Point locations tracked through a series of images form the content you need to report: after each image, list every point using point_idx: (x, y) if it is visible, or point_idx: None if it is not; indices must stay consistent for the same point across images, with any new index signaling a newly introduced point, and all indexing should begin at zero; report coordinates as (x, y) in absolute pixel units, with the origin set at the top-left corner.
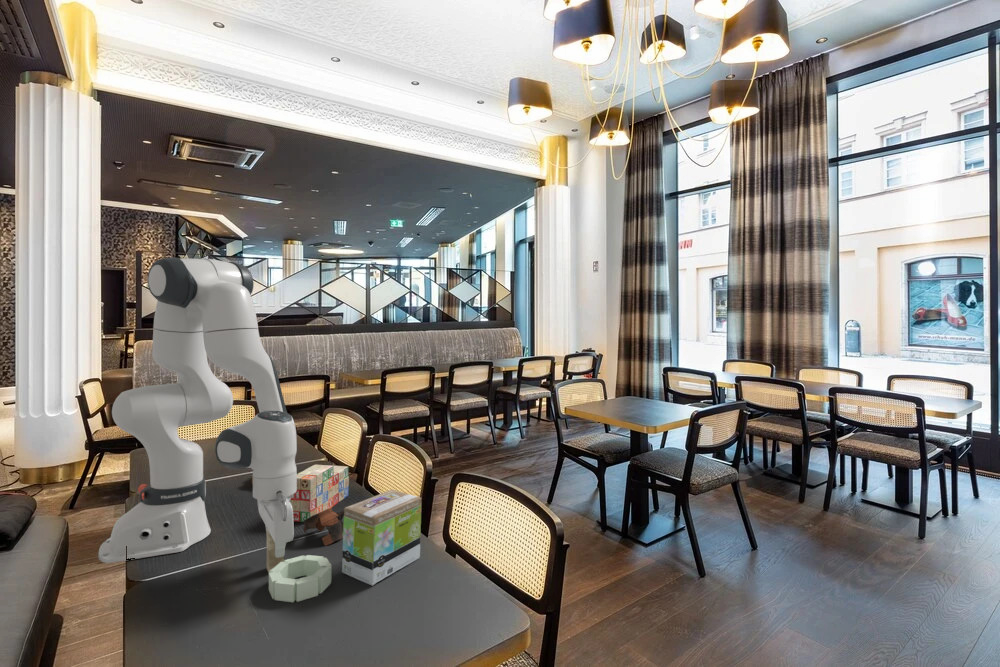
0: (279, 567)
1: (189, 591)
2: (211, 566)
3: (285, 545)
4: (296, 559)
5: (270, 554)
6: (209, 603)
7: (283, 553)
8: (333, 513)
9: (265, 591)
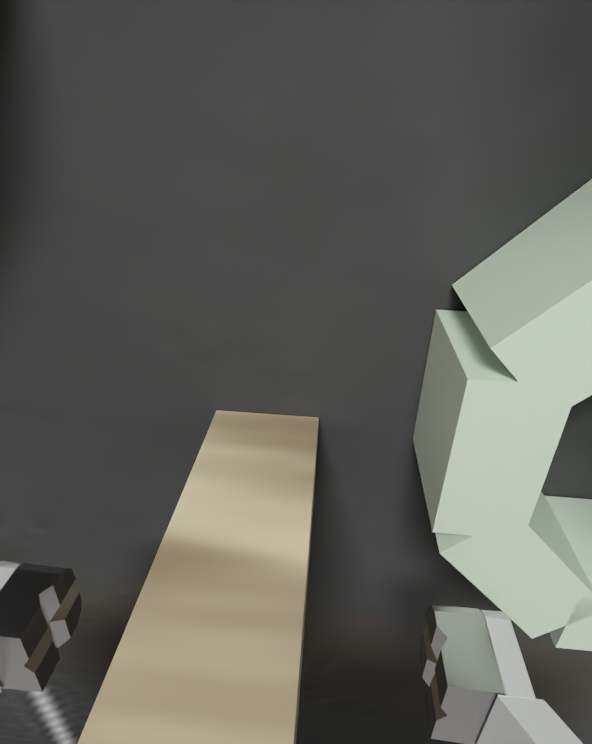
0: (533, 585)
1: None
2: None
3: (579, 741)
4: (505, 457)
5: (305, 613)
6: (422, 706)
7: (511, 637)
8: None
9: None
